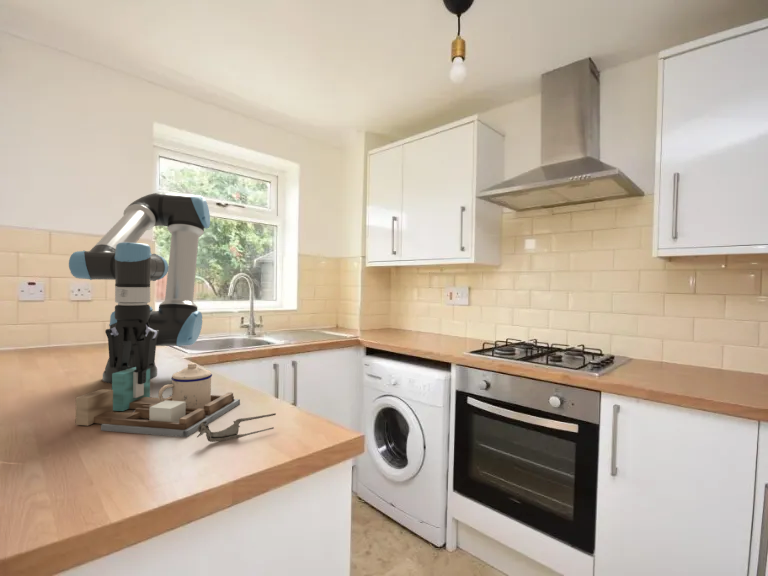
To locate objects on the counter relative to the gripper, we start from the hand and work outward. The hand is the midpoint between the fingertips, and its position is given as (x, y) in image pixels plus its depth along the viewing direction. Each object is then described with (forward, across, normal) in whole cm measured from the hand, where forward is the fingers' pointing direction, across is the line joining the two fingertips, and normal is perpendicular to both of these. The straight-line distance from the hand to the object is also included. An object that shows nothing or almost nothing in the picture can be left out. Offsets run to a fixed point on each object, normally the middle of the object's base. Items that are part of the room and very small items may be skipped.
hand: (131, 395), depth 99 cm
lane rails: (+3, +16, -4) cm, 17 cm away
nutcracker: (+3, +36, -14) cm, 39 cm away
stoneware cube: (+3, +18, -11) cm, 21 cm away
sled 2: (+3, +16, 0) cm, 16 cm away
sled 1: (+3, +16, -11) cm, 19 cm away
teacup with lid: (+3, +16, -1) cm, 16 cm away
